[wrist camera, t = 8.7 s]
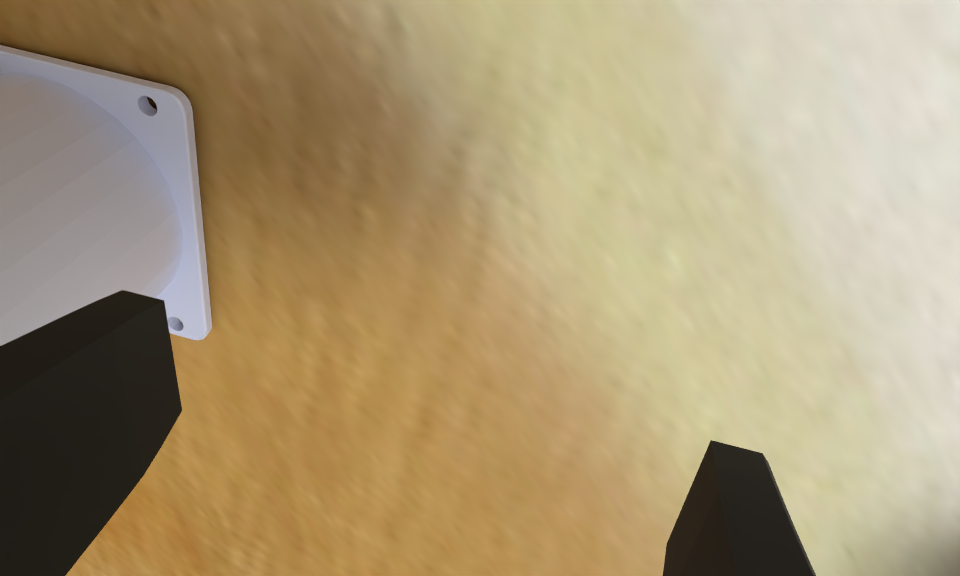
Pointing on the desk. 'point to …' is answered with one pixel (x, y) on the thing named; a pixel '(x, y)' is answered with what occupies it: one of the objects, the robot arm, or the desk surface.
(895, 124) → the desk surface
